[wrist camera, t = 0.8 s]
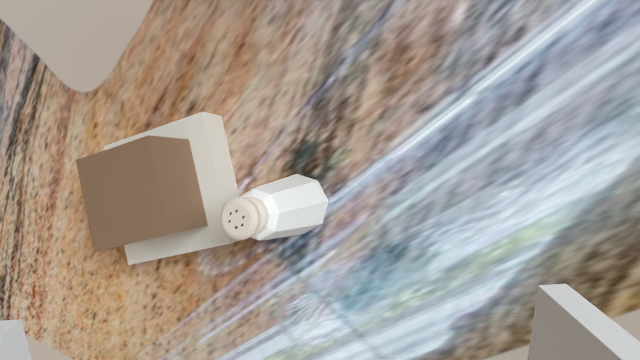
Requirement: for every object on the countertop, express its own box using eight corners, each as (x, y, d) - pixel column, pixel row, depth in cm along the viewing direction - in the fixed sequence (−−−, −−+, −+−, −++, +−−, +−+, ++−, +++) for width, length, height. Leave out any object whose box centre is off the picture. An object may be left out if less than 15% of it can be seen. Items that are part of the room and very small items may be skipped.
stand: (127, 147, 42) (55, 143, 35) (221, 115, 38) (163, 103, 31) (150, 258, 42) (82, 278, 34) (248, 237, 38) (196, 255, 30)
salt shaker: (341, 200, 35) (290, 214, 24) (305, 245, 36) (242, 278, 26) (296, 161, 36) (229, 160, 26) (262, 207, 37) (187, 223, 27)
